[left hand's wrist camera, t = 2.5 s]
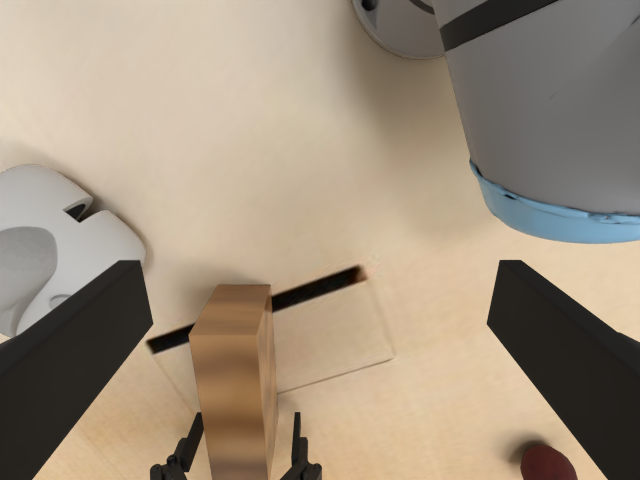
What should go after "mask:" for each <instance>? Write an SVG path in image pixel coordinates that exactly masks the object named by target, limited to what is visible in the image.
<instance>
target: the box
mask: <svg viewBox="0 0 640 480" xmlns="http://www.w3.org/2000/svg"><path fill="white" fill-rule="evenodd" d="M189 341H190V347H191V353H192V359H193V365H194V371H195V377H196V383H197V389H198V395H199V401H200V407H201V413H202V419H203V425H204V431H205V437H206V443H207V449H208V455H209V461H210V468H211V474H212V480H270V475H271V467H272V460H273V453H274V445H275V438H276V431H277V423H278V402H277V385H276V367H275V350H274V333H273V316H272V299H271V285H218V286H217V287H216V289H215V291H214V292H213V294H212V296H211V298H210V299H209V301H208V303H207V304H206V306H205V308H204V310H203V311H202V313H201V315H200V316H199V318H198V320H197V322H196V323H195V325H194V327H193V328H192V330H191V332H190V334H189Z"/></svg>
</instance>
